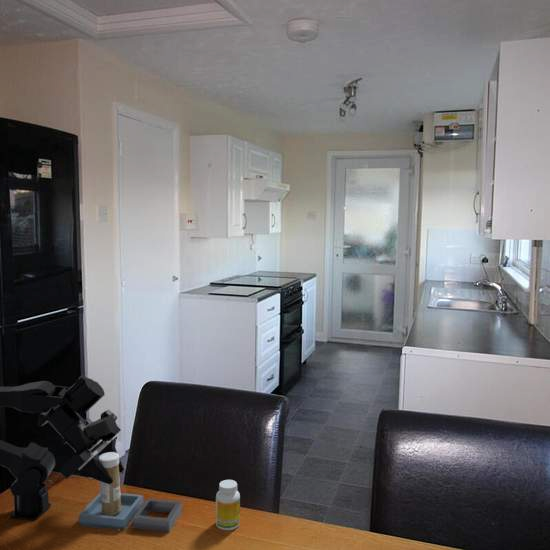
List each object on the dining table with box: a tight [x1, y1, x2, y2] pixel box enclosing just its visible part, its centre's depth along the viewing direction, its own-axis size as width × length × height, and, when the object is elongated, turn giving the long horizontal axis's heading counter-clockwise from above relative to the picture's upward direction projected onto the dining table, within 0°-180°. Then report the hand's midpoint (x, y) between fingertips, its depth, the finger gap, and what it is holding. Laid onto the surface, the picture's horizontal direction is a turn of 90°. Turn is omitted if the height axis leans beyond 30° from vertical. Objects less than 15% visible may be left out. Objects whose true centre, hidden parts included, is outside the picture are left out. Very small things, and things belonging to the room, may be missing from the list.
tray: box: [78, 491, 144, 531], centre depth 123 cm, size 11×11×2 cm
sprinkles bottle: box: [99, 452, 122, 516], centre depth 122 cm, size 5×5×14 cm
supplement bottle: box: [215, 479, 241, 531], centre depth 120 cm, size 5×5×10 cm
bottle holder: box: [132, 497, 183, 533], centre depth 121 cm, size 8×8×2 cm
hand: (117, 476), depth 122 cm, fingers open, 5 cm apart
